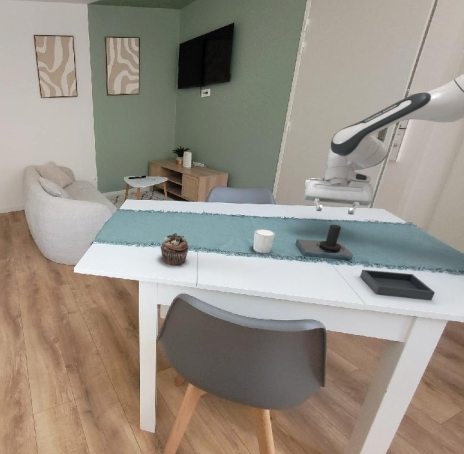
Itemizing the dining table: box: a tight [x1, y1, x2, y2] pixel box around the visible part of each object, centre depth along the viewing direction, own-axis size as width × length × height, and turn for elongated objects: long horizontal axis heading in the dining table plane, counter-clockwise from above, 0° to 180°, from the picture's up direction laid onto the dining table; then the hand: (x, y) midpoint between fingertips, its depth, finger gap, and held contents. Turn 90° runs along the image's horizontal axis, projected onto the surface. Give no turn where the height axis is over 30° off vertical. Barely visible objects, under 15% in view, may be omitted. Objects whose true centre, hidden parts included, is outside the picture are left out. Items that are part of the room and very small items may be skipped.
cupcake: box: [160, 233, 189, 266], centre depth 102 cm, size 10×10×10 cm
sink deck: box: [295, 238, 354, 261], centre depth 104 cm, size 14×10×2 cm
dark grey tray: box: [359, 269, 436, 301], centre depth 83 cm, size 12×9×2 cm
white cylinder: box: [252, 228, 276, 254], centre depth 107 cm, size 7×7×7 cm
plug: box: [320, 224, 342, 250], centre depth 102 cm, size 6×6×10 cm
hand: (334, 212), depth 106 cm, fingers open, 8 cm apart
